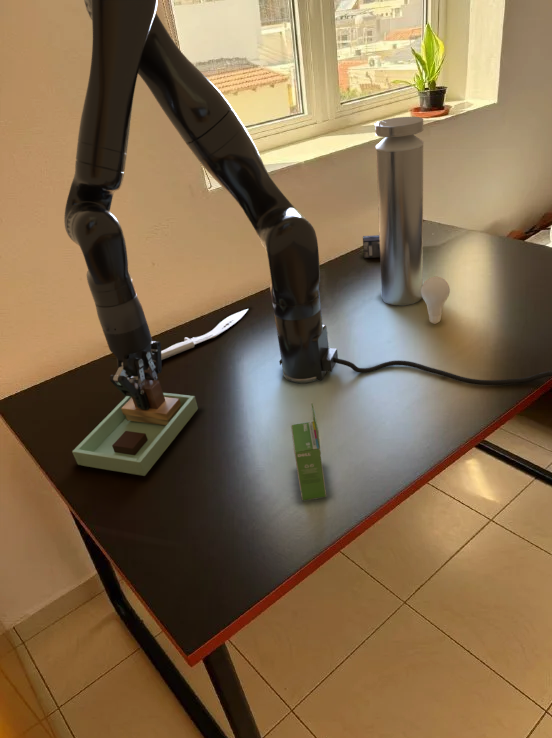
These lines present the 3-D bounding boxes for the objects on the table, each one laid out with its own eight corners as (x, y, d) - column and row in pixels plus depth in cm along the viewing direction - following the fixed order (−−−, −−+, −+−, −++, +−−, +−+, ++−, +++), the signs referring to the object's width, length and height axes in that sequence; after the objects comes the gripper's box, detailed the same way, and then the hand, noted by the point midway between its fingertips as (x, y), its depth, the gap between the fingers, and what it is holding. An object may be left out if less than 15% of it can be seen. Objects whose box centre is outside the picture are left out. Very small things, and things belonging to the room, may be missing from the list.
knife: (247, 305, 147) (264, 313, 142) (248, 311, 148) (265, 320, 142) (139, 346, 133) (153, 357, 128) (141, 352, 134) (155, 363, 129)
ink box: (298, 471, 94) (287, 405, 86) (321, 468, 94) (313, 401, 86) (301, 501, 88) (290, 433, 81) (327, 498, 88) (318, 429, 81)
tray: (198, 410, 112) (194, 395, 110) (145, 478, 97) (139, 462, 95) (138, 403, 117) (133, 389, 115) (78, 467, 102) (71, 451, 100)
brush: (183, 411, 110) (173, 378, 106) (170, 426, 107) (159, 393, 102) (139, 405, 114) (128, 374, 109) (125, 421, 110) (113, 388, 106)
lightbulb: (418, 328, 128) (418, 282, 122) (424, 316, 133) (424, 271, 127) (445, 330, 126) (447, 284, 120) (451, 317, 131) (452, 272, 124)
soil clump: (148, 440, 105) (145, 433, 104) (135, 455, 102) (132, 448, 101) (128, 437, 106) (125, 430, 106) (114, 452, 103) (111, 445, 102)
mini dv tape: (363, 258, 167) (362, 237, 163) (364, 256, 168) (363, 236, 164) (392, 256, 165) (391, 236, 161) (392, 254, 166) (392, 234, 163)
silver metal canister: (429, 291, 143) (431, 116, 121) (412, 308, 137) (411, 126, 114) (392, 285, 149) (387, 117, 126) (374, 302, 142) (366, 127, 119)
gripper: (118, 343, 92) (147, 427, 102) (163, 304, 103) (185, 384, 112) (81, 340, 95) (112, 423, 104) (128, 303, 105) (152, 381, 115)
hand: (150, 402), depth 108 cm, fingers closed on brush, 3 cm apart
